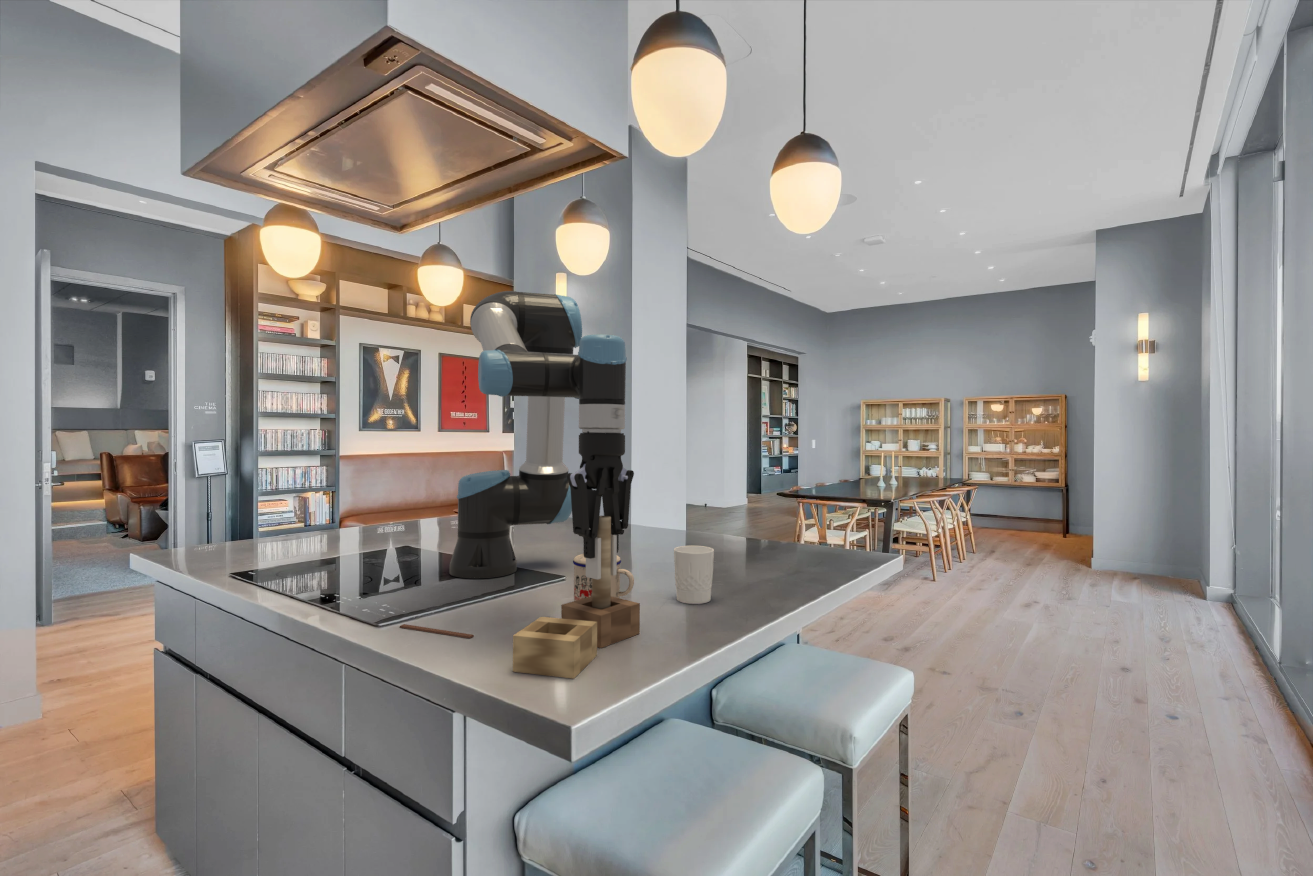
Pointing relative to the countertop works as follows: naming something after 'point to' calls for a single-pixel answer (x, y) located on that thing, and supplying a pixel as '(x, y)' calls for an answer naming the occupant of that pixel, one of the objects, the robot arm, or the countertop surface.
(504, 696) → the countertop surface
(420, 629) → the brown wooden stick
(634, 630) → the bead dark
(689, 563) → the white cup
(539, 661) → the light wooden square frame
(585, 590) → the teacup with lid
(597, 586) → the beige wooden dowel
